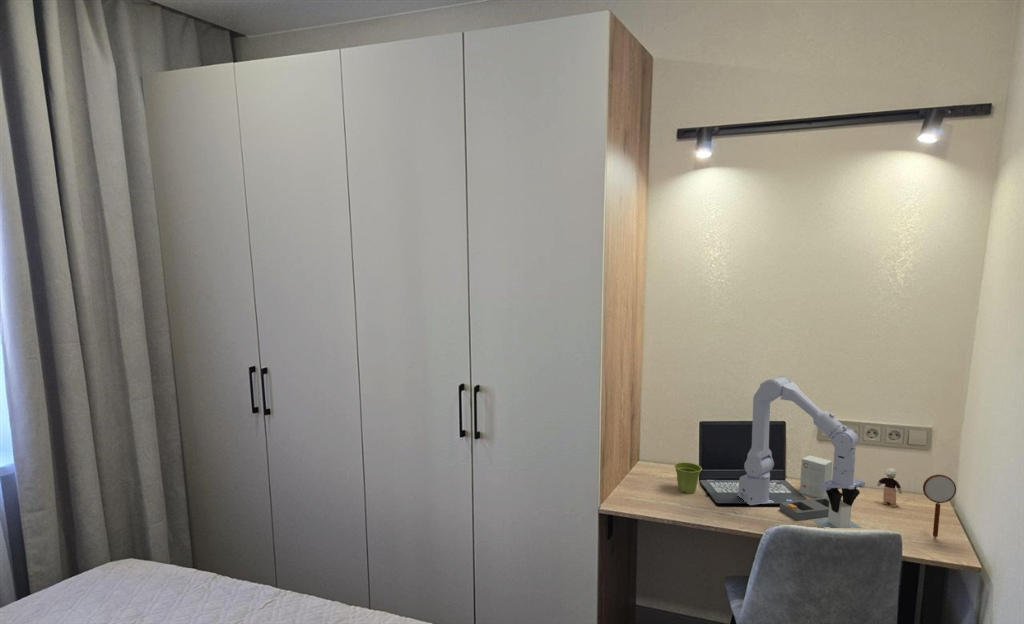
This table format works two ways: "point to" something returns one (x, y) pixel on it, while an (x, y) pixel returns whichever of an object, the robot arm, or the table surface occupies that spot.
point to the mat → (826, 524)
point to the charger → (840, 516)
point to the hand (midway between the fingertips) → (840, 510)
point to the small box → (814, 476)
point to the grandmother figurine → (890, 487)
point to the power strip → (806, 508)
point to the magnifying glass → (939, 494)
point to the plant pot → (687, 476)
